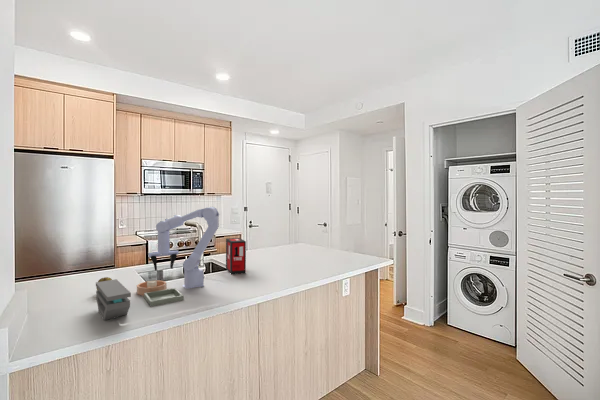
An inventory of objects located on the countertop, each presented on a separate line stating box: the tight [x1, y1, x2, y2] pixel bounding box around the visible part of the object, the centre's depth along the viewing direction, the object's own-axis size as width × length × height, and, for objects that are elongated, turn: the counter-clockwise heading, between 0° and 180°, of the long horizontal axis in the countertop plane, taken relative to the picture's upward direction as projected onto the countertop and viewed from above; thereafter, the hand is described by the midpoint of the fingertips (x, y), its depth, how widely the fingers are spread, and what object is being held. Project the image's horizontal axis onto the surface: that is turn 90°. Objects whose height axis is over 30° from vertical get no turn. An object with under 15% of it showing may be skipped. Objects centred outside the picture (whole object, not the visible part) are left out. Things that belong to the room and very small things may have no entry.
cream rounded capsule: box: [146, 280, 158, 288], centre depth 154 cm, size 4×4×4 cm
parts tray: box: [143, 287, 185, 307], centre depth 143 cm, size 14×14×3 cm
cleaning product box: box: [225, 237, 247, 275], centre depth 198 cm, size 16×9×20 cm, turn 25°
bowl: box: [136, 279, 168, 297], centre depth 154 cm, size 13×13×4 cm
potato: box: [95, 276, 113, 291], centre depth 149 cm, size 8×13×8 cm, turn 26°
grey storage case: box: [95, 279, 132, 321], centre depth 126 cm, size 25×8×11 cm, turn 42°
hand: (163, 269), depth 163 cm, fingers open, 7 cm apart
